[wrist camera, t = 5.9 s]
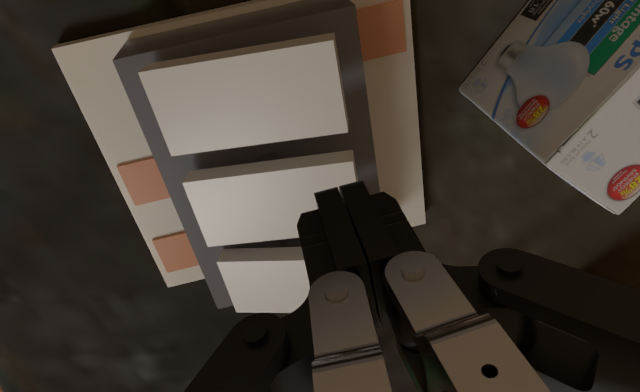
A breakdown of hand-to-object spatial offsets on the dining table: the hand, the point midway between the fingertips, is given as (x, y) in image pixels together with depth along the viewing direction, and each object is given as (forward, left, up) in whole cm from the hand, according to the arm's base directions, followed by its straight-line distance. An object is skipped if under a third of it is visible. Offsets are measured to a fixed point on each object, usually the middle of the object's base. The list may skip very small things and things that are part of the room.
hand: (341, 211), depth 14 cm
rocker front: (+2, 0, -11) cm, 11 cm away
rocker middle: (+2, +6, -11) cm, 12 cm away
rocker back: (+2, +12, -11) cm, 16 cm away
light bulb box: (-17, +4, -18) cm, 25 cm away
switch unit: (+2, +6, -17) cm, 18 cm away
